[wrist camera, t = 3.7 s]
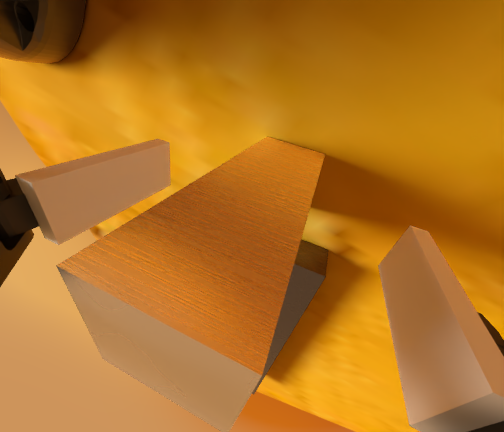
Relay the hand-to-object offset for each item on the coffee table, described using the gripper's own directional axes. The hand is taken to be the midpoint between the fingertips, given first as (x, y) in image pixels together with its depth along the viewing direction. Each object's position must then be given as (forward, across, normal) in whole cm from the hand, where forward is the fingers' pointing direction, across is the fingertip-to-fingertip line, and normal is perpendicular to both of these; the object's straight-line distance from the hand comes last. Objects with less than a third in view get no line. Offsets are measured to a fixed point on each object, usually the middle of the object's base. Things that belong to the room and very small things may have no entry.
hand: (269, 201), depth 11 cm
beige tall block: (+4, 0, 0) cm, 5 cm away
